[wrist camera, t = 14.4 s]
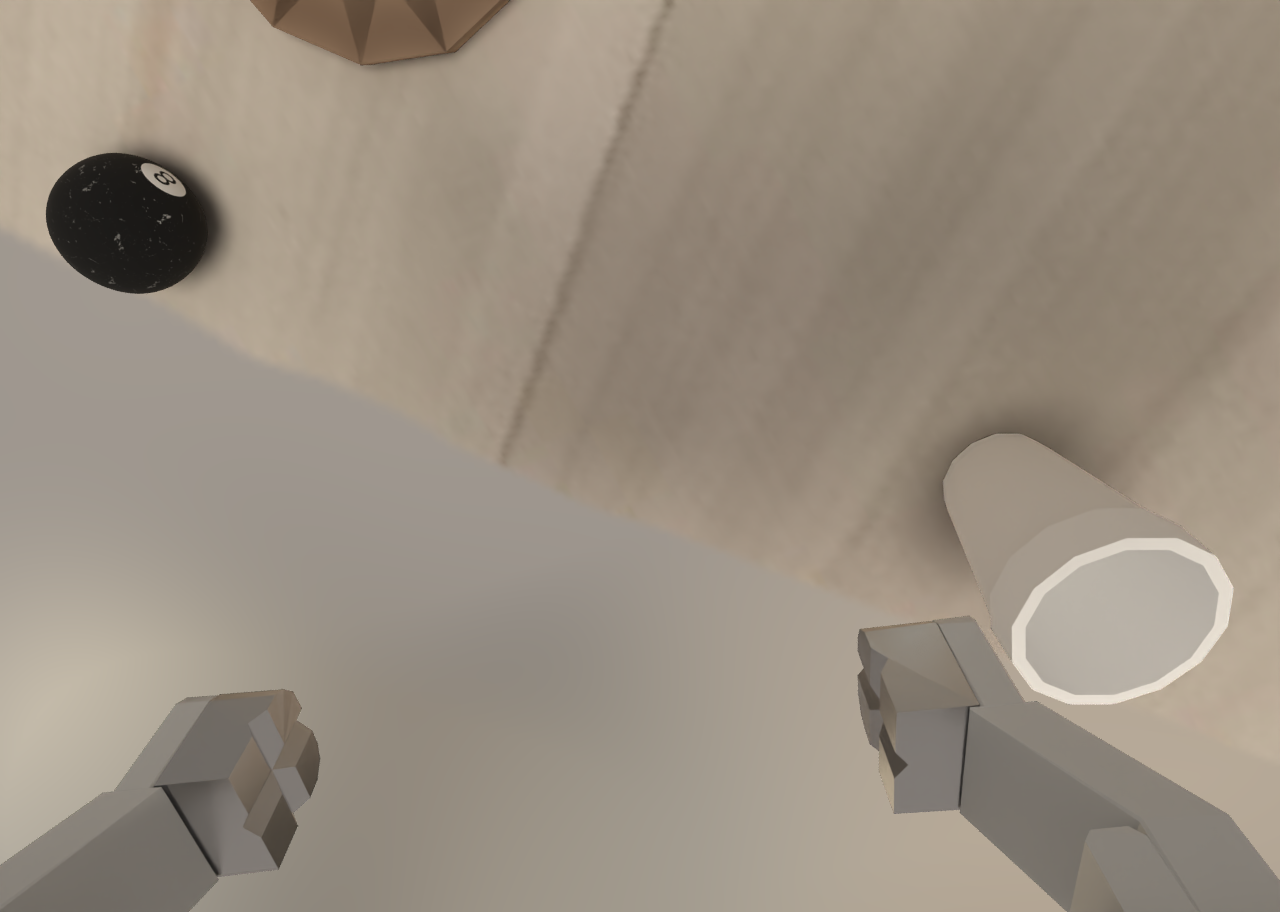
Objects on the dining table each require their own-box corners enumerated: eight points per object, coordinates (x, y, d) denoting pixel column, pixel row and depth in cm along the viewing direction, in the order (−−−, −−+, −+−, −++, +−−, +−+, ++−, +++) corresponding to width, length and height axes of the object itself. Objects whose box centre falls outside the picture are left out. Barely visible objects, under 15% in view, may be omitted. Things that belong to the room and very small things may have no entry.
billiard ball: (252, 215, 38) (190, 242, 33) (186, 297, 40) (118, 334, 35) (142, 119, 36) (57, 131, 31) (78, 210, 38) (-12, 236, 33)
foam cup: (1113, 448, 44) (1281, 586, 33) (1011, 567, 48) (1130, 729, 37) (979, 382, 42) (1107, 505, 31) (884, 511, 46) (967, 663, 35)
